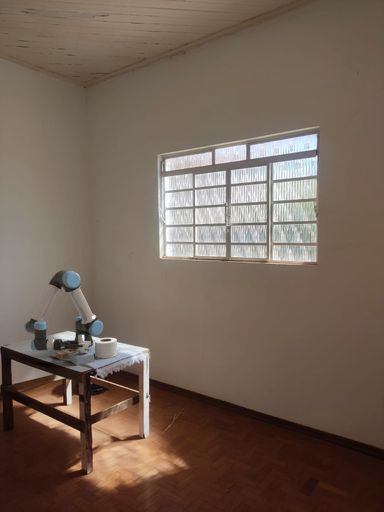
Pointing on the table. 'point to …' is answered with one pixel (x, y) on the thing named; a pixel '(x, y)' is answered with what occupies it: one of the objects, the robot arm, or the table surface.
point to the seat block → (81, 358)
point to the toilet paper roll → (105, 347)
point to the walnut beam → (66, 353)
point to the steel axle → (81, 341)
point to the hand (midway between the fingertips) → (89, 344)
